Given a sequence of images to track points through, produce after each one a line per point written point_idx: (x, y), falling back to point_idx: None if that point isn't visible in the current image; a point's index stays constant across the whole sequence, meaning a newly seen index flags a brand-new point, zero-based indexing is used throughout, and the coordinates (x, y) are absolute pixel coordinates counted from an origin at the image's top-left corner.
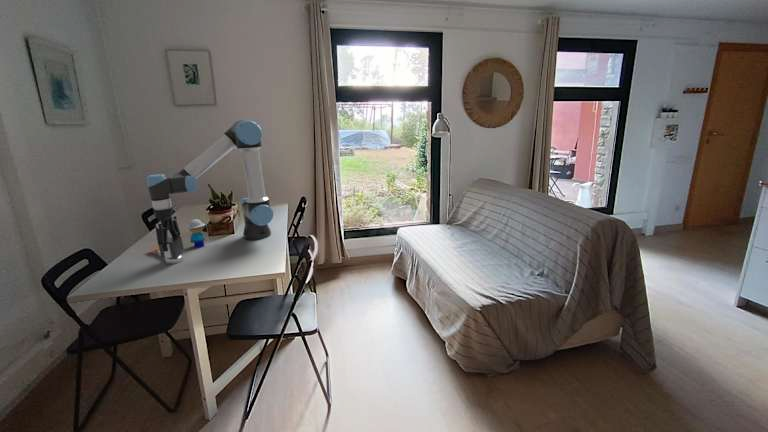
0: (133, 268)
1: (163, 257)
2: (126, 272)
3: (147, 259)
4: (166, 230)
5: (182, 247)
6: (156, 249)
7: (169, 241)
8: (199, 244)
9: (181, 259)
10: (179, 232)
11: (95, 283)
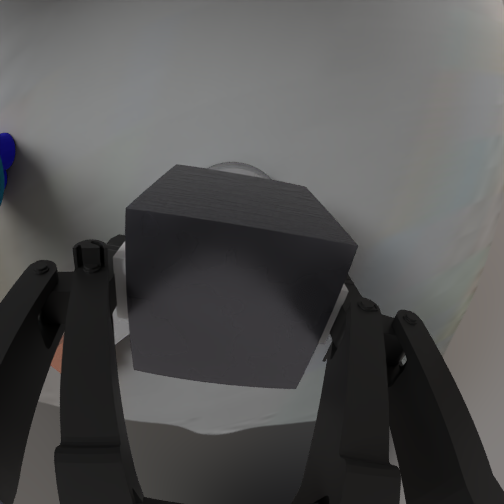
0: None
1: None
2: (307, 375)
3: None
4: (372, 455)
5: (182, 174)
6: None
7: (308, 301)
8: (3, 152)
9: (242, 165)
10: (28, 280)
11: None
